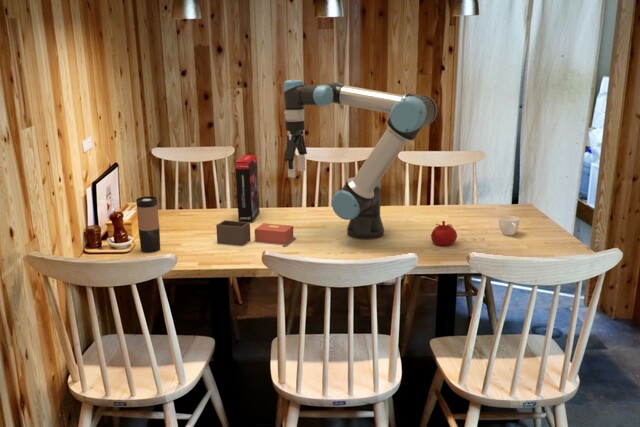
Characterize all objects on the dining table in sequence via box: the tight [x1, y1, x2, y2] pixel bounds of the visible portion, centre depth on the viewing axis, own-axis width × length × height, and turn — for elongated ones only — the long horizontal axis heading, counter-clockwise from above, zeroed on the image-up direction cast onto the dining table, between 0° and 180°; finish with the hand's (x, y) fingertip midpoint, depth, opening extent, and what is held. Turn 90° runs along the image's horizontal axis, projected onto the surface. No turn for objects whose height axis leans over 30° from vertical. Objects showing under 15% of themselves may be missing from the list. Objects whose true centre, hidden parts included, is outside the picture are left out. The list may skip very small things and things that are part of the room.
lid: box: [254, 222, 294, 244], centre depth 247 cm, size 13×9×5 cm
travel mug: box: [135, 195, 161, 254], centre depth 235 cm, size 8×8×20 cm
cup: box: [498, 215, 520, 237], centre depth 253 cm, size 8×10×7 cm
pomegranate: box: [430, 220, 458, 247], centre depth 242 cm, size 10×10×9 cm
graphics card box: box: [234, 154, 260, 223], centre depth 277 cm, size 17×7×27 cm, turn 175°
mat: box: [252, 236, 297, 248], centre depth 247 cm, size 14×11×1 cm
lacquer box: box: [215, 219, 251, 247], centre depth 244 cm, size 11×7×8 cm, turn 72°
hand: (296, 173), depth 249 cm, fingers open, 13 cm apart
